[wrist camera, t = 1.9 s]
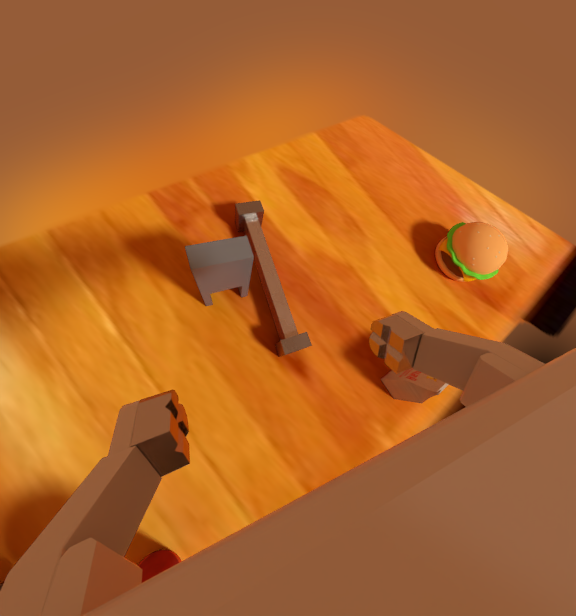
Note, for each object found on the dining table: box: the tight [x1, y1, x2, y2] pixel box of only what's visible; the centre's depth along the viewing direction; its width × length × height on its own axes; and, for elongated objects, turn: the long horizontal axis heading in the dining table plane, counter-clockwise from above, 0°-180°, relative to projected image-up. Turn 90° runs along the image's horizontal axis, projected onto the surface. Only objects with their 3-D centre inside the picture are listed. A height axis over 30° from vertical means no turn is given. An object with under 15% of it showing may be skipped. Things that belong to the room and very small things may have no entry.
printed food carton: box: [381, 368, 448, 403], centre depth 34 cm, size 4×7×10 cm, turn 124°
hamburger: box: [435, 222, 508, 282], centre depth 45 cm, size 12×12×9 cm
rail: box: [235, 201, 312, 357], centre depth 36 cm, size 24×4×4 cm, turn 19°
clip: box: [185, 236, 254, 306], centre depth 30 cm, size 6×3×13 cm, turn 109°
